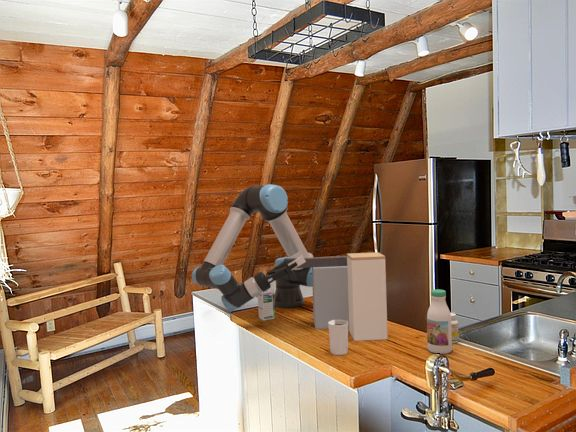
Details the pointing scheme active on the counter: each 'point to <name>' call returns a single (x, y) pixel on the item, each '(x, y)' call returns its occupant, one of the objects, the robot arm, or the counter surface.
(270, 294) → the syrup box
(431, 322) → the milk bottle
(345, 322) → the white cup
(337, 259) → the handle rail
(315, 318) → the tall grey pillar block
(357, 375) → the counter surface
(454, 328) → the supplement bottle
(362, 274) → the cabinet block
